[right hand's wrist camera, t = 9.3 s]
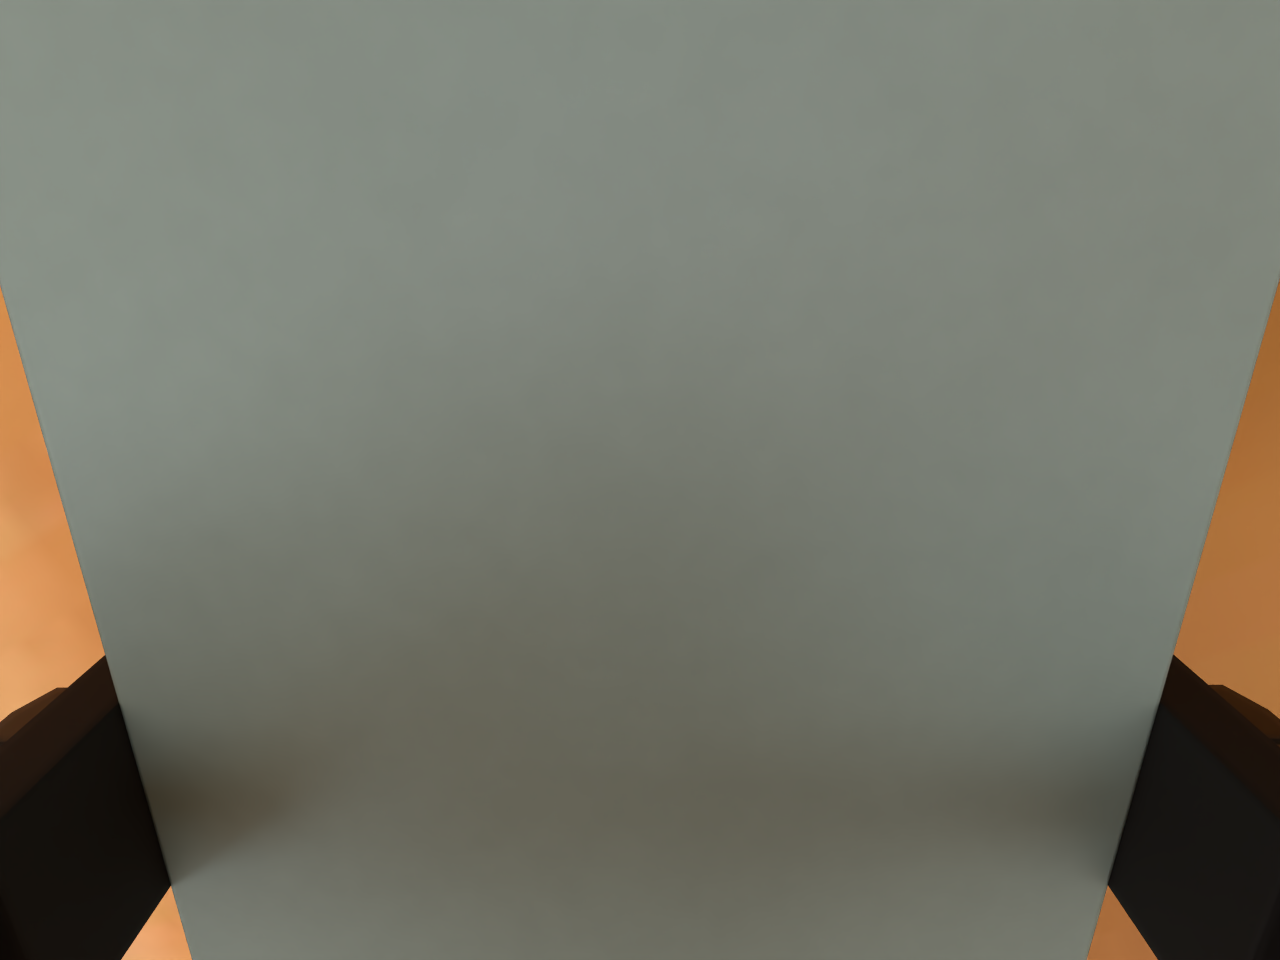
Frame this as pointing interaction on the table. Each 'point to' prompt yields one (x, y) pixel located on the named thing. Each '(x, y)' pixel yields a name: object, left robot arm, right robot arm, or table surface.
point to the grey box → (639, 449)
